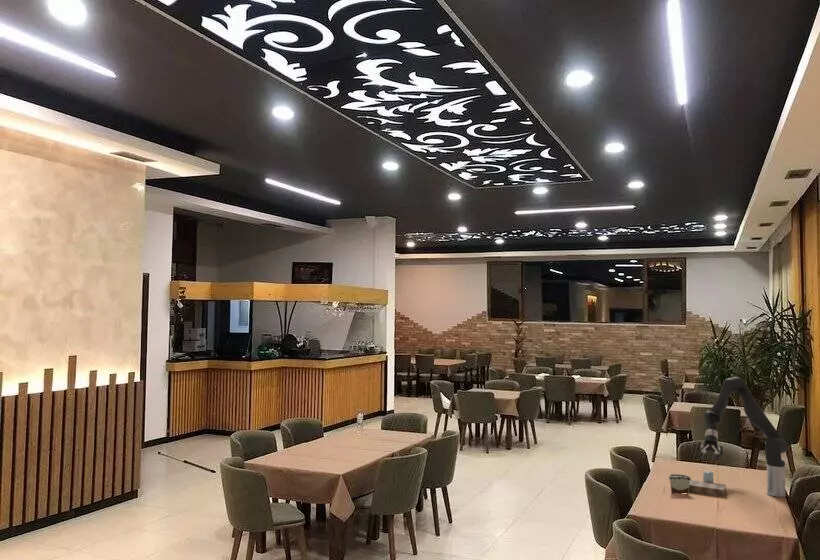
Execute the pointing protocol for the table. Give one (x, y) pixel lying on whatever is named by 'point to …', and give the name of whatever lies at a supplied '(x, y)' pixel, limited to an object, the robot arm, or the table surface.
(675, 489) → the food container
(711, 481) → the ceramic jar
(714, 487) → the walnut stand
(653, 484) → the table surface
